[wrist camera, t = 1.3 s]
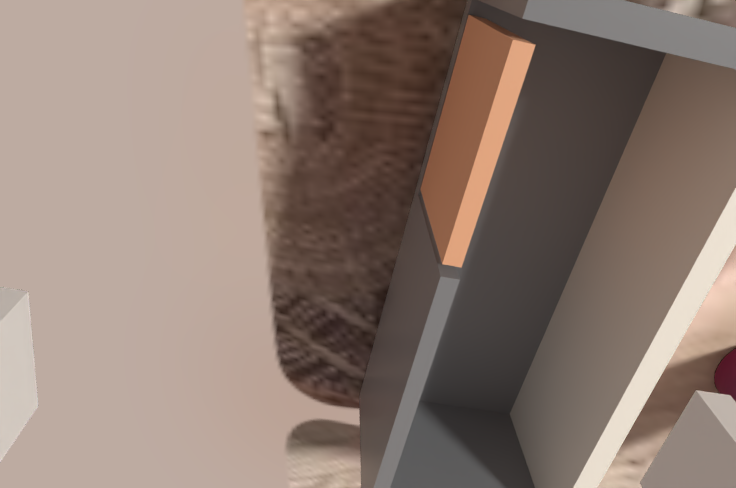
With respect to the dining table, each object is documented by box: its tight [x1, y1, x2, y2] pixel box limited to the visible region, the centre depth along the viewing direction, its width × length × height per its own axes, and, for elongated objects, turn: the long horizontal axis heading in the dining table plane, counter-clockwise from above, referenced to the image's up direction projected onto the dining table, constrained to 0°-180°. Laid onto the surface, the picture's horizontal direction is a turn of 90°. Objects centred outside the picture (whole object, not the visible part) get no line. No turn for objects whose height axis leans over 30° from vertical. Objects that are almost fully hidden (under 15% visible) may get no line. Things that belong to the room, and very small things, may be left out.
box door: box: [420, 15, 536, 268], centre depth 25 cm, size 9×1×8 cm, turn 168°
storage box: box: [359, 0, 736, 488], centre depth 29 cm, size 26×11×10 cm, turn 168°
